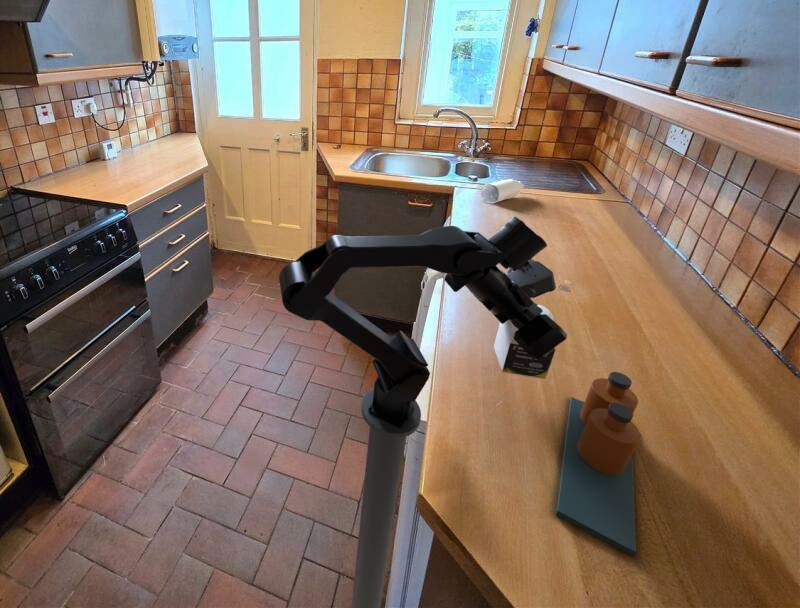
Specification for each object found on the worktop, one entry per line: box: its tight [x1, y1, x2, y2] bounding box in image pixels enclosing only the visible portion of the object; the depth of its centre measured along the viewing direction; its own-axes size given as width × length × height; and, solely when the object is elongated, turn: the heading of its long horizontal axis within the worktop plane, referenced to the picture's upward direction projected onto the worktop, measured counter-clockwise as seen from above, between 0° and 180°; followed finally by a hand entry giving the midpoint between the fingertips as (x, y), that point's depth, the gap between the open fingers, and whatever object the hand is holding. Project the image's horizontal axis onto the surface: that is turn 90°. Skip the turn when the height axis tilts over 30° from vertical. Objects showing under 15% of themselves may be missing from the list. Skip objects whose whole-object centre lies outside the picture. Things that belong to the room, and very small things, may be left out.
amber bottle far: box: [580, 371, 639, 425], centre depth 66 cm, size 6×6×10 cm
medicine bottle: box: [493, 302, 557, 380], centre depth 72 cm, size 7×7×12 cm
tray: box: [555, 397, 637, 557], centre depth 62 cm, size 8×24×1 cm, turn 144°
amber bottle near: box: [577, 403, 641, 475], centre depth 61 cm, size 6×6×10 cm
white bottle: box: [480, 178, 525, 204], centre depth 165 cm, size 8×19×8 cm, turn 117°
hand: (535, 333), depth 72 cm, fingers closed on medicine bottle, 8 cm apart
